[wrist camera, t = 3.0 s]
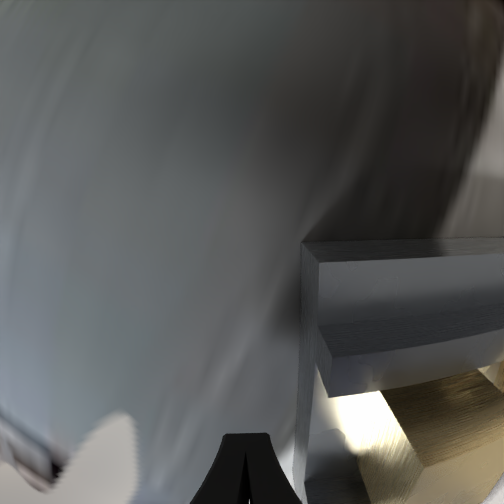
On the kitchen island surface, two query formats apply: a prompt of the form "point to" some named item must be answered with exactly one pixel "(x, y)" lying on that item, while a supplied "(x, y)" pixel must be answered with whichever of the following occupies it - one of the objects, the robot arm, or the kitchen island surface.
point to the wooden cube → (434, 442)
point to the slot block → (385, 340)
